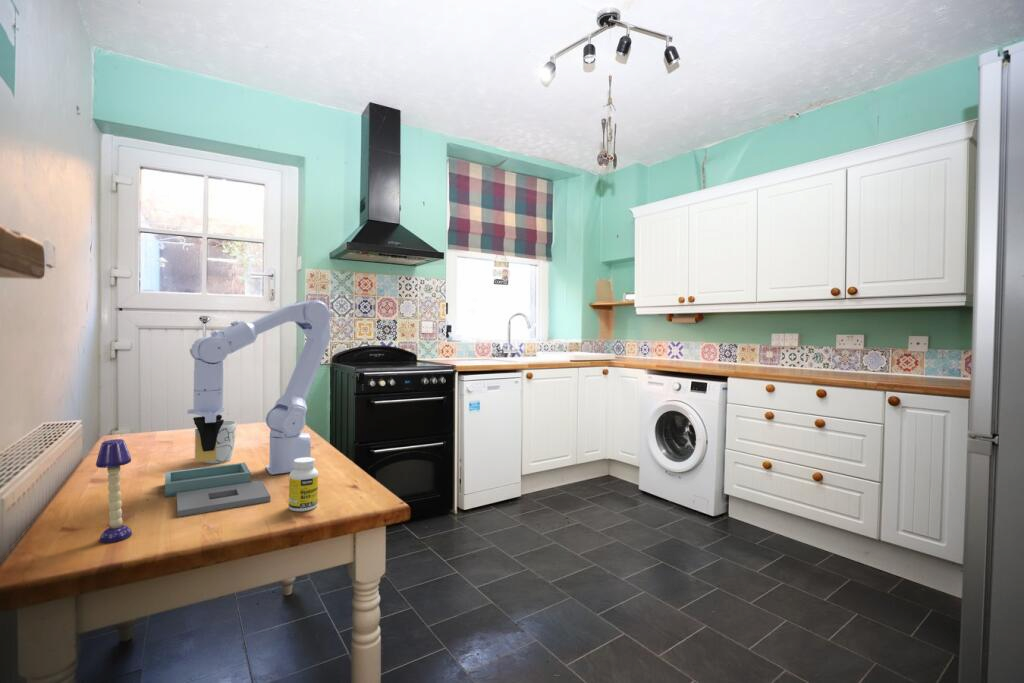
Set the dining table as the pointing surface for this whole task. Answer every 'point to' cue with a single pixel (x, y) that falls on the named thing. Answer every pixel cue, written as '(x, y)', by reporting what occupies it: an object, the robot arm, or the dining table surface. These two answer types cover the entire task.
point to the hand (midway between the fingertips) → (208, 449)
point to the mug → (225, 442)
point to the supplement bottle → (303, 485)
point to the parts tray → (205, 478)
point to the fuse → (199, 453)
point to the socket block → (204, 499)
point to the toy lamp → (114, 487)
